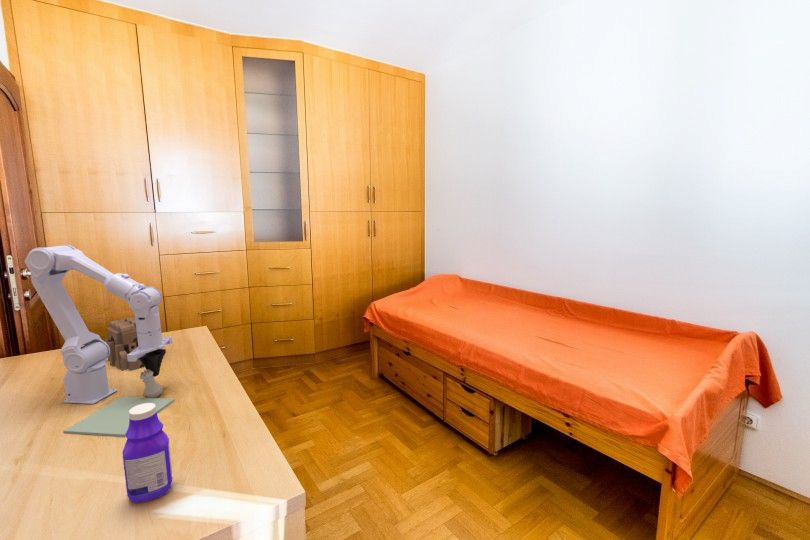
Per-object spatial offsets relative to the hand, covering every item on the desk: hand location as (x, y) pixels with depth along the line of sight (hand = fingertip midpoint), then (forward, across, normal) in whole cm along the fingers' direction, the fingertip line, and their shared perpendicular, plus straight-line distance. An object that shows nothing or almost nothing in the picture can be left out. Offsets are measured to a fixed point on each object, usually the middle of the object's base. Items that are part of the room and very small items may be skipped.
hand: (154, 375), depth 109 cm
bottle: (+6, -36, -28) cm, 46 cm away
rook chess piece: (+5, -1, 0) cm, 5 cm away
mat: (+6, -12, 0) cm, 13 cm away
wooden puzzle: (+6, +24, +28) cm, 37 cm away
